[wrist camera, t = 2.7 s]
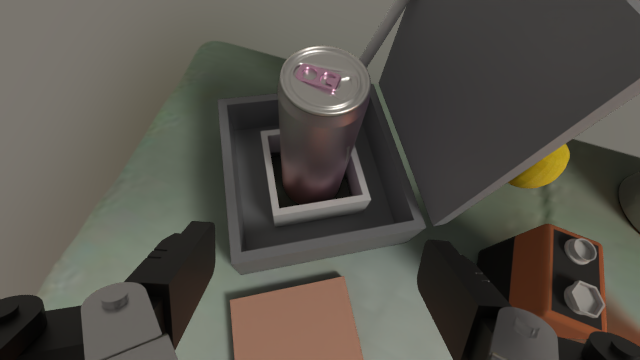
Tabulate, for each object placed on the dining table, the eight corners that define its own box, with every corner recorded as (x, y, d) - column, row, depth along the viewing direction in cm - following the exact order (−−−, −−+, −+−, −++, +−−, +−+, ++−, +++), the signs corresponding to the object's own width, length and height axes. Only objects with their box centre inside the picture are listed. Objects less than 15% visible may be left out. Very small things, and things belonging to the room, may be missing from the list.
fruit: (536, 200, 33) (604, 165, 26) (489, 199, 33) (545, 164, 26) (520, 156, 36) (578, 113, 29) (476, 155, 35) (523, 111, 28)
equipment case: (376, 110, 37) (485, -164, 16) (422, 239, 30) (705, 49, 10) (227, 128, 34) (128, -181, 13) (241, 275, 27) (87, 110, 7)
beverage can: (294, 151, 33) (297, 32, 20) (345, 168, 33) (384, 59, 20) (273, 197, 31) (260, 96, 17) (328, 217, 30) (359, 129, 17)
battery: (467, 318, 27) (553, 313, 18) (477, 248, 30) (555, 215, 21) (514, 338, 27) (626, 343, 18) (520, 265, 30) (618, 239, 21)
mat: (342, 277, 28) (343, 276, 27) (372, 407, 24) (375, 410, 23) (231, 300, 26) (229, 300, 25) (243, 444, 22) (241, 448, 21)
